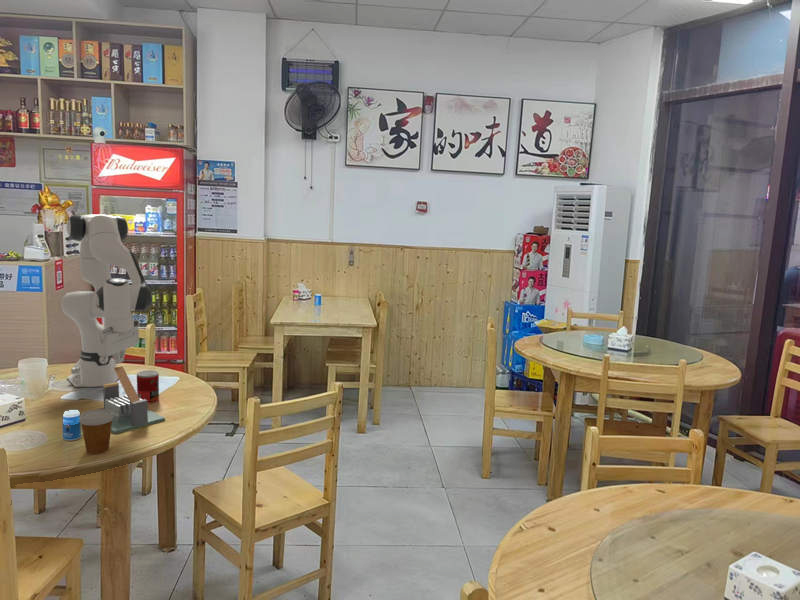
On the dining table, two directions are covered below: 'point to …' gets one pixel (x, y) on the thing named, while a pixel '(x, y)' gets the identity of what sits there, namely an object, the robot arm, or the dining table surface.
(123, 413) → the heatsink
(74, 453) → the dining table surface
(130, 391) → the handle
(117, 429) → the board
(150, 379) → the canned food
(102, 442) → the disposable coffee cup
